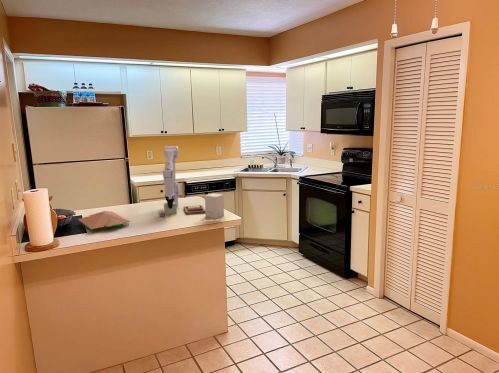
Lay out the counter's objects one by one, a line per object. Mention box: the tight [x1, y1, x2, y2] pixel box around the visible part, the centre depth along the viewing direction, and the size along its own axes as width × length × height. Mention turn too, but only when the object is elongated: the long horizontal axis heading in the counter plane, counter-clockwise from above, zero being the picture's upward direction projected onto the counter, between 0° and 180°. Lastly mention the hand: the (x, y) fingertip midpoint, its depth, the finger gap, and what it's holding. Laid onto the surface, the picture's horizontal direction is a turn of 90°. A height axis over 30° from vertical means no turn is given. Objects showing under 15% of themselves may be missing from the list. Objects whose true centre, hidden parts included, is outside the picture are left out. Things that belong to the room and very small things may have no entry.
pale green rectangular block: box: [163, 202, 178, 215], centre depth 249 cm, size 4×8×7 cm, turn 106°
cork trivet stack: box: [187, 205, 201, 209], centre depth 258 cm, size 5×9×2 cm, turn 106°
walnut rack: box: [183, 204, 206, 216], centre depth 255 cm, size 17×13×2 cm
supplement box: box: [204, 192, 225, 220], centre depth 241 cm, size 9×9×15 cm
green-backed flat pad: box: [77, 210, 131, 234], centre depth 227 cm, size 23×33×8 cm
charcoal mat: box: [158, 211, 166, 218], centre depth 250 cm, size 10×14×1 cm
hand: (170, 207), depth 249 cm, fingers open, 6 cm apart
